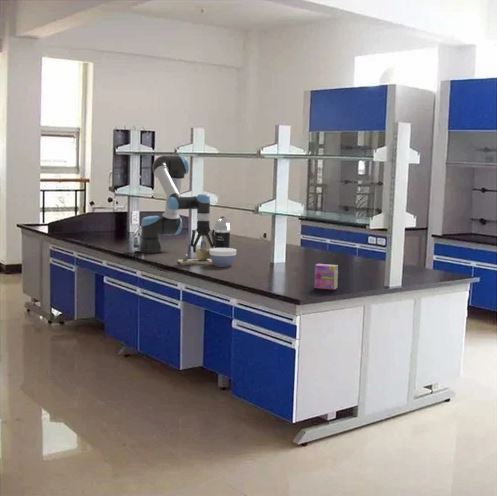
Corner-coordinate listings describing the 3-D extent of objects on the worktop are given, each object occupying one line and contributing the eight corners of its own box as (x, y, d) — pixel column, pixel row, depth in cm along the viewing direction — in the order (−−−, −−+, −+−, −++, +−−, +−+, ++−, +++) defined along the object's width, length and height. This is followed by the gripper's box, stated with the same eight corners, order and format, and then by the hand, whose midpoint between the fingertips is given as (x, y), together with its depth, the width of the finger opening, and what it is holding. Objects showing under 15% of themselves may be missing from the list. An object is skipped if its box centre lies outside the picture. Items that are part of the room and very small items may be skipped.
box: (314, 288, 357) (314, 264, 355) (317, 286, 362) (318, 263, 360) (334, 290, 352) (334, 266, 351) (337, 288, 358) (338, 264, 356)
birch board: (177, 261, 431) (177, 259, 430) (209, 260, 437) (209, 258, 437) (183, 264, 419) (183, 262, 419) (215, 263, 426) (215, 261, 426)
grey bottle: (227, 256, 456) (228, 217, 453) (212, 255, 458) (212, 216, 455) (231, 254, 466) (232, 216, 463) (216, 253, 468) (216, 215, 465)
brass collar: (194, 257, 432) (194, 249, 431) (207, 256, 435) (207, 248, 434) (198, 259, 424) (198, 251, 423) (211, 258, 427) (211, 250, 426)
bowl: (231, 268, 410) (231, 252, 408) (205, 266, 414) (205, 250, 413) (239, 264, 425) (239, 248, 424) (214, 262, 429) (214, 247, 428)
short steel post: (182, 260, 427) (182, 254, 426) (187, 260, 428) (187, 254, 427) (183, 261, 424) (183, 254, 423) (188, 261, 425) (188, 254, 424)
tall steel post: (197, 259, 431) (197, 240, 430) (205, 259, 433) (206, 240, 431) (200, 261, 426) (200, 241, 425) (208, 260, 428) (208, 241, 426)
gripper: (187, 221, 419) (187, 259, 422) (222, 220, 426) (221, 257, 429) (184, 219, 426) (184, 257, 429) (218, 219, 433) (217, 256, 436)
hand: (203, 257), depth 429 cm, fingers closed on brass collar, 8 cm apart
